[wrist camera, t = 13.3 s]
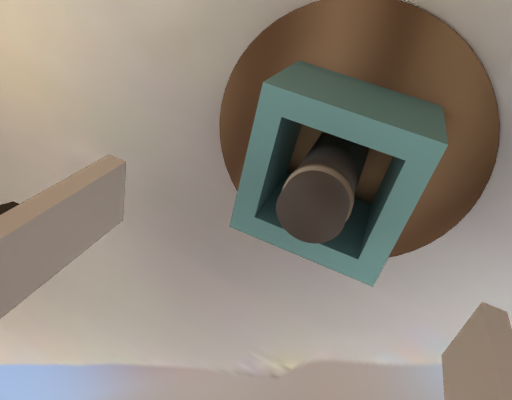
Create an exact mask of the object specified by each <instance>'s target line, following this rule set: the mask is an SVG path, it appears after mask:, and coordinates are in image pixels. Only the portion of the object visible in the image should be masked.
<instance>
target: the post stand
mask: <svg viewBox="0 0 512 400" xmlns="http://www.w3.org/2000/svg"><path fill="white" fill-rule="evenodd" d="M298 60H300V61H303V62H306V63H309V64H312V65H315V66H319V67H322V68H325V69H328V70H331V71H334V72H337V73H340V74H344V75H347V76H350V77H353V78H356V79H359V80H362V81H365V82H369V83H372V84H375V85H378V86H381V87H384V88H387V89H390V90H393V91H397V92H400V93H403V94H406V95H409V96H412V97H415V98H418V99H422V100H425V101H428V102H431V103H434V104H437V105H440V106H443V113H444V119H445V126H446V133H447V140H448V146H447V148H446V150H445V152H444V154H443V156H442V157H441V159H440V161H439V163H438V165H437V167H436V169H435V171H434V172H433V174H432V176H431V178H430V180H429V182H428V184H427V186H426V187H425V189H424V191H423V193H422V195H421V197H420V199H419V201H418V202H417V204H416V206H415V208H414V210H413V212H412V214H411V216H410V217H409V219H408V221H407V223H406V225H405V227H404V229H403V231H402V232H401V234H400V236H399V238H398V240H397V242H396V244H395V246H394V248H393V249H392V251H391V253H390V255H389V257H394V256H398V255H402V254H405V253H408V252H411V251H414V250H416V249H418V248H421V247H423V246H425V245H427V244H429V243H431V242H433V241H434V240H436V239H438V238H439V237H441V236H442V235H444V234H445V233H447V232H448V231H449V230H450V229H452V228H453V227H454V226H455V225H457V224H458V223H459V222H460V221H461V220H462V219H463V218H464V217H465V215H466V214H467V213H468V212H469V211H470V210H471V209H472V207H473V206H474V205H475V203H476V202H477V200H478V199H479V198H480V196H481V194H482V193H483V191H484V189H485V187H486V185H487V183H488V181H489V179H490V176H491V173H492V171H493V168H494V165H495V162H496V157H497V152H498V146H499V131H500V122H499V114H498V106H497V101H496V98H495V94H494V91H493V88H492V84H491V82H490V80H489V78H488V76H487V74H486V72H485V70H484V67H483V65H482V64H481V62H480V61H479V59H478V58H477V57H476V55H475V54H474V52H473V51H472V49H471V48H470V47H469V45H468V44H467V43H466V42H465V41H464V40H463V39H462V38H461V37H460V36H459V35H458V34H457V33H456V32H455V31H454V30H453V29H452V28H450V27H449V26H448V25H447V24H445V23H444V22H443V21H441V20H440V19H439V18H437V17H435V16H434V15H432V14H430V13H428V12H426V11H424V10H422V9H421V8H419V7H416V6H413V5H410V4H408V3H405V2H402V1H399V0H321V1H317V2H313V3H311V4H308V5H306V6H303V7H301V8H298V9H296V10H294V11H292V12H290V13H288V14H287V15H285V16H283V17H281V18H280V19H278V20H277V21H275V22H274V23H273V24H271V25H270V26H269V27H268V28H266V29H265V30H264V31H262V33H261V34H260V35H259V36H258V37H257V38H256V39H255V40H254V41H253V42H252V43H251V44H250V45H249V46H248V48H247V49H246V50H245V52H244V53H243V54H242V56H241V57H240V59H239V60H238V62H237V64H236V66H235V68H234V69H233V71H232V73H231V76H230V78H229V81H228V83H227V86H226V88H225V92H224V96H223V100H222V104H221V113H220V140H221V147H222V153H223V157H224V161H225V164H226V167H227V170H228V172H229V175H230V178H231V180H232V182H233V184H234V186H235V187H236V189H237V191H238V188H239V183H240V179H241V175H242V170H243V166H244V162H245V157H246V153H247V149H248V144H249V140H250V136H251V132H252V127H253V123H254V119H255V114H256V110H257V106H258V101H259V97H260V93H261V88H262V84H263V82H264V81H266V80H267V79H269V78H271V77H272V76H274V75H275V74H277V73H279V72H280V71H282V70H284V69H285V68H287V67H289V66H290V65H292V64H293V63H295V62H297V61H298ZM392 158H393V156H391V155H388V154H385V153H383V152H380V151H377V150H374V149H371V148H368V147H366V146H363V145H360V144H357V143H354V142H351V141H348V140H346V139H343V138H340V137H337V136H334V135H331V134H329V133H326V132H323V131H320V130H317V129H314V128H312V127H309V126H306V125H303V124H302V125H301V128H300V132H299V135H298V138H297V142H296V145H295V148H294V152H293V155H292V158H291V162H290V165H289V168H288V171H287V172H288V173H291V175H290V176H289V178H288V179H287V181H286V182H285V184H284V186H283V189H282V192H281V193H280V195H279V197H278V199H277V203H276V213H277V217H278V220H279V222H280V224H281V225H282V227H283V228H284V229H285V230H286V231H287V232H288V233H289V234H290V235H291V236H293V237H294V238H296V239H298V240H300V241H303V242H307V243H324V242H327V241H330V240H332V239H334V238H335V237H336V236H337V235H338V234H339V233H340V232H341V231H342V229H343V227H344V225H345V222H346V221H347V220H348V218H349V216H350V214H351V211H352V208H353V205H354V198H357V199H360V200H362V201H365V202H368V203H370V204H372V202H373V200H374V198H375V195H376V193H377V191H378V189H379V187H380V185H381V182H382V180H383V178H384V176H385V174H386V171H387V169H388V167H389V165H390V163H391V160H392ZM389 257H388V258H389Z"/></svg>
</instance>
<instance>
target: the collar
mask: <svg viewBox="0 0 512 400" xmlns="http://www.w3.org/2000/svg"><path fill="white" fill-rule="evenodd" d="M302 124H303V125H306V126H309V127H312V128H314V129H317V130H320V131H323V132H326V133H329V134H331V135H334V136H337V137H340V138H343V139H346V140H348V141H351V142H354V143H357V144H360V145H363V146H366V147H368V148H371V149H374V150H377V151H380V152H383V153H385V154H388V155H391V156H393V158H392V160H391V163H390V165H389V167H388V169H387V171H386V174H385V176H384V178H383V180H382V182H381V185H380V187H379V189H378V191H377V193H376V195H375V198H374V200H373V202H372V204H370V203H368V202H365V201H362V200H360V199H357V198H354V205H353V208H352V211H351V214H350V216H349V218H348V220H347V221H346V222H345V225H344V227H343V229H342V231H341V232H340V233H339V234H338V235H337V236H336V237H335V238H334V239H332V240H330V241H327V242H324V243H307V242H303V241H300V240H298V239H296V238H294V237H293V236H291V235H290V234H289V233H288V232H287V231H286V230H285V229H284V228H283V227H282V225H281V224H280V222H279V220H278V217H277V213H276V203H277V199H278V197H279V195H280V193H281V192H282V189H283V186H284V184H285V182H286V181H287V179H288V178H289V176H290V175H291V173H288V172H287V171H288V168H289V165H290V162H291V158H292V155H293V152H294V148H295V145H296V142H297V138H298V135H299V132H300V128H301V125H302ZM447 146H448V140H447V133H446V126H445V119H444V113H443V106H440V105H437V104H434V103H431V102H428V101H425V100H422V99H418V98H415V97H412V96H409V95H406V94H403V93H400V92H397V91H393V90H390V89H387V88H384V87H381V86H378V85H375V84H372V83H369V82H365V81H362V80H359V79H356V78H353V77H350V76H347V75H344V74H340V73H337V72H334V71H331V70H328V69H325V68H322V67H319V66H315V65H312V64H309V63H306V62H303V61H300V60H298V61H297V62H295V63H293V64H292V65H290V66H289V67H287V68H285V69H284V70H282V71H280V72H279V73H277V74H275V75H274V76H272V77H271V78H269V79H267V80H266V81H264V82H263V84H262V88H261V93H260V97H259V101H258V106H257V110H256V114H255V119H254V123H253V127H252V132H251V136H250V140H249V144H248V149H247V153H246V157H245V162H244V166H243V170H242V175H241V179H240V183H239V188H238V192H237V196H236V201H235V205H234V209H233V214H232V218H231V222H230V227H232V228H234V229H237V230H239V231H241V232H244V233H246V234H248V235H251V236H253V237H256V238H258V239H260V240H263V241H265V242H268V243H270V244H272V245H275V246H277V247H280V248H282V249H284V250H287V251H289V252H291V253H294V254H296V255H299V256H301V257H303V258H306V259H308V260H311V261H313V262H315V263H318V264H320V265H322V266H325V267H327V268H330V269H332V270H334V271H337V272H339V273H342V274H344V275H346V276H349V277H351V278H353V279H356V280H358V281H361V282H363V283H365V284H368V285H370V286H373V285H374V283H375V281H376V279H377V278H378V276H379V274H380V272H381V270H382V268H383V266H384V264H385V263H386V261H387V259H388V257H389V255H390V253H391V251H392V249H393V248H394V246H395V244H396V242H397V240H398V238H399V236H400V234H401V232H402V231H403V229H404V227H405V225H406V223H407V221H408V219H409V217H410V216H411V214H412V212H413V210H414V208H415V206H416V204H417V202H418V201H419V199H420V197H421V195H422V193H423V191H424V189H425V187H426V186H427V184H428V182H429V180H430V178H431V176H432V174H433V172H434V171H435V169H436V167H437V165H438V163H439V161H440V159H441V157H442V156H443V154H444V152H445V150H446V148H447Z"/></svg>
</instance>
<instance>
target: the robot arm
mask: <svg viewBox="0 0 512 400" xmlns="http://www.w3.org/2000/svg"><path fill="white" fill-rule="evenodd" d="M125 173H126V161H123V160H121V159H118V158H116V157H113V156H110V155H107V156H106V157H104V158H102V159H100V160H98V161H97V162H95V163H93V164H91V165H89V166H88V167H86V168H84V169H82V170H80V171H79V172H77V173H75V174H73V175H71V176H70V177H68V178H66V179H64V180H62V181H61V182H59V183H57V184H55V185H53V186H52V187H50V188H48V189H46V190H44V191H43V192H41V193H39V194H37V195H35V196H34V197H32V198H30V199H28V200H26V201H25V202H23V203H21V204H18V203H16V202H10V203H6V204H2V205H0V319H1V318H2V317H3V316H5V315H6V314H7V313H8V312H9V311H11V310H12V309H13V308H14V307H16V306H17V305H18V304H19V303H21V302H22V301H23V300H24V299H26V298H27V297H28V296H29V295H31V294H32V293H33V292H34V291H36V290H37V289H38V288H39V287H40V286H42V285H43V284H44V283H45V282H47V281H48V280H49V279H50V278H52V277H53V276H54V275H55V274H57V273H58V272H59V271H60V270H62V269H63V268H64V267H65V266H67V265H68V264H69V263H70V262H72V261H73V260H74V259H75V258H76V257H78V256H79V255H80V254H81V253H83V252H84V251H85V250H86V249H88V248H89V247H90V246H91V245H93V244H94V243H95V242H96V241H98V240H99V239H100V238H101V237H103V236H104V235H105V234H106V233H108V232H109V231H110V230H111V229H112V228H114V227H115V226H116V225H117V224H119V223H120V222H121V221H122V220H123V213H124V193H125ZM442 367H443V381H444V396H445V400H512V329H511V325H510V321H509V318H508V314H507V312H506V311H504V310H501V309H498V308H496V307H493V306H491V305H488V304H486V303H483V302H482V303H481V304H480V305H479V307H478V308H477V309H476V311H475V312H474V313H473V315H472V316H471V317H470V319H469V320H468V321H467V322H466V324H465V325H464V326H463V328H462V329H461V330H460V332H459V333H458V334H457V336H456V337H455V338H454V340H453V341H452V342H451V344H450V345H449V346H448V348H447V349H446V350H445V352H444V353H443V354H442Z"/></svg>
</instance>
